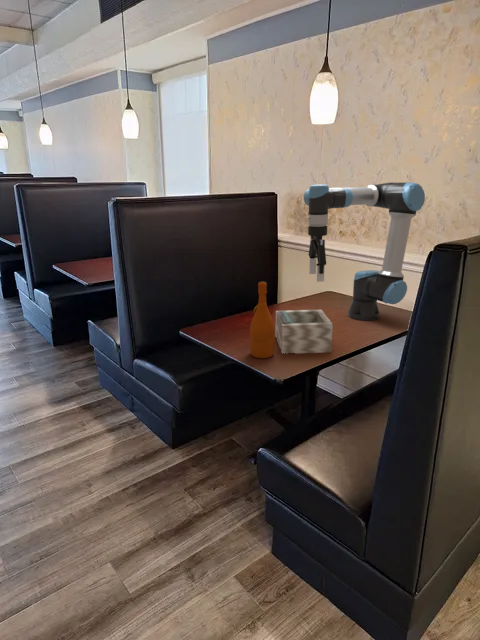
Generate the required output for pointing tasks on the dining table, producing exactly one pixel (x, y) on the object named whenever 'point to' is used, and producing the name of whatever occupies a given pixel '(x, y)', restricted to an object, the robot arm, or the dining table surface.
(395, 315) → the dining table surface
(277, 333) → the crate
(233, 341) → the dining table surface
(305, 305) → the dining table surface
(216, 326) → the dining table surface
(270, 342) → the wine bottle
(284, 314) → the trapdoor
